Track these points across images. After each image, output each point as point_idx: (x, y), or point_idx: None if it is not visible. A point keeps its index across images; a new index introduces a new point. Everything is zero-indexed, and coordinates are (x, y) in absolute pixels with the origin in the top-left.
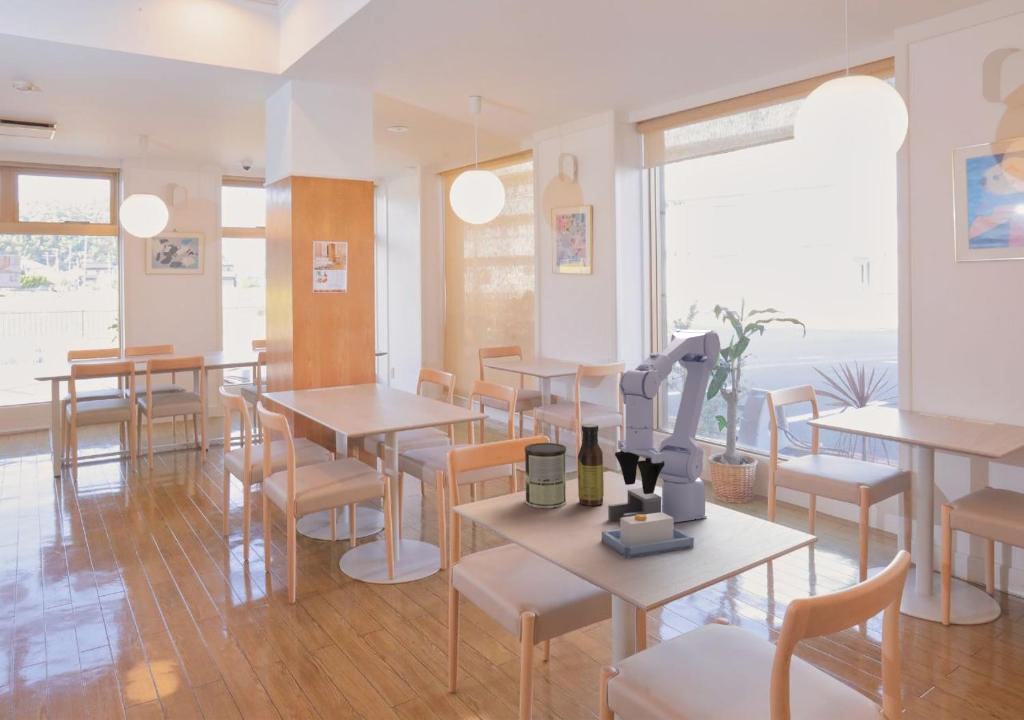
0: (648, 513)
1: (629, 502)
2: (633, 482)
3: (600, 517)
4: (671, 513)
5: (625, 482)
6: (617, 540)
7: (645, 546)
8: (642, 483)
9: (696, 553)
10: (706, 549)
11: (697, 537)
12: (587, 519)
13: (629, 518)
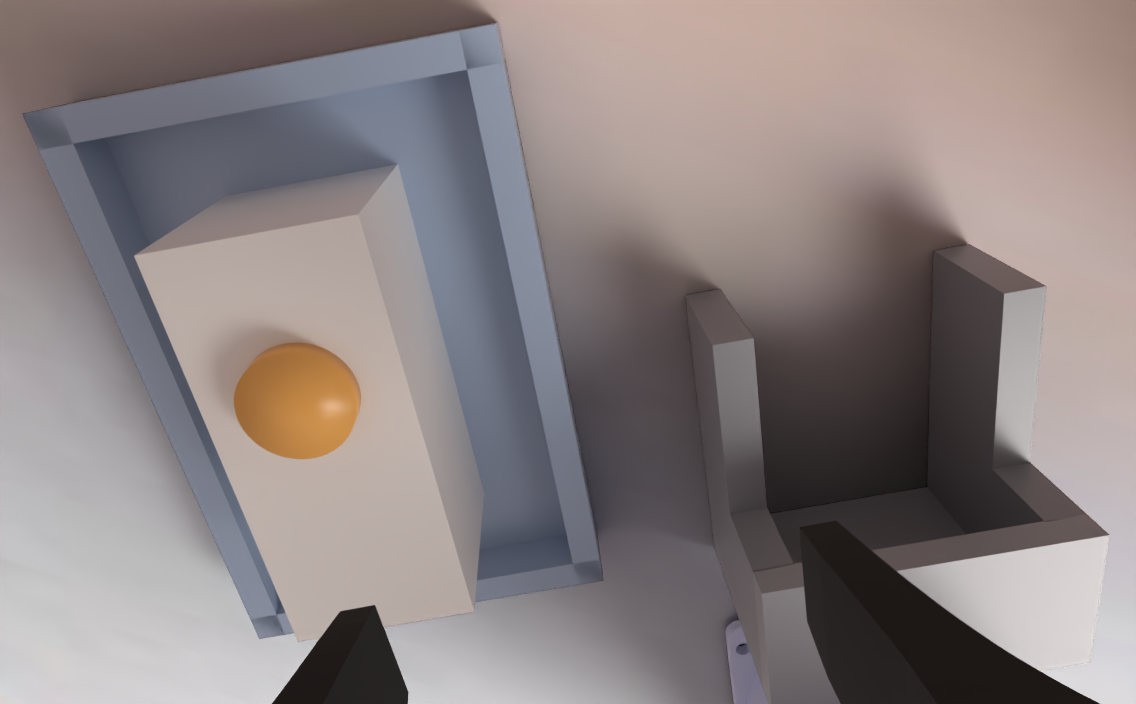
0: (728, 529)
1: (1001, 473)
2: (811, 622)
3: (1054, 199)
4: None
5: (826, 536)
6: (234, 98)
7: (107, 290)
8: (314, 699)
9: (175, 575)
10: (242, 642)
11: (451, 662)
12: (1061, 68)
13: (326, 298)
